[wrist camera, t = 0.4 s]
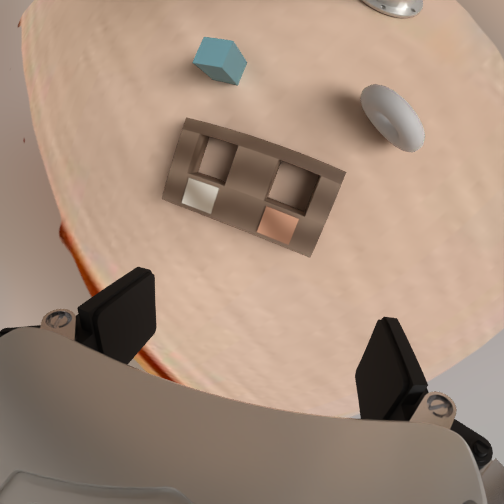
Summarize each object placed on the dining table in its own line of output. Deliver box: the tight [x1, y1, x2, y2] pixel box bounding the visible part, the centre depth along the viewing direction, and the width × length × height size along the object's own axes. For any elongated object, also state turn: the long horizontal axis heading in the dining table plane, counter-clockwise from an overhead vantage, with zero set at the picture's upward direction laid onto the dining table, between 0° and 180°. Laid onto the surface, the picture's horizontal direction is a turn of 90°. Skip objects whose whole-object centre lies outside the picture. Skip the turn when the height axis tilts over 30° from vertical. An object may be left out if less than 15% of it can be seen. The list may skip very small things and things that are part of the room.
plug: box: [193, 37, 247, 85], centre depth 29 cm, size 4×4×8 cm
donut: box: [361, 84, 425, 152], centre depth 27 cm, size 10×3×10 cm, turn 44°
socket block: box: [162, 118, 346, 258], centre depth 36 cm, size 12×22×4 cm, turn 70°
